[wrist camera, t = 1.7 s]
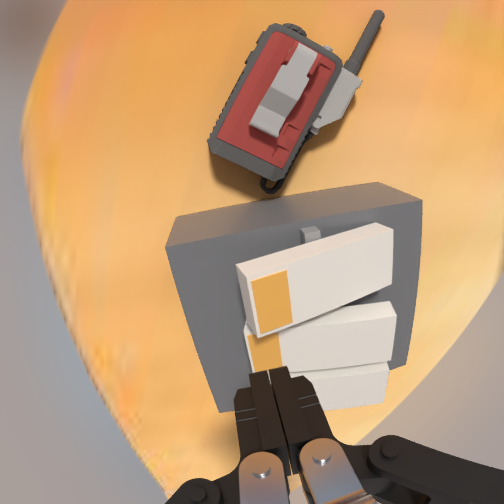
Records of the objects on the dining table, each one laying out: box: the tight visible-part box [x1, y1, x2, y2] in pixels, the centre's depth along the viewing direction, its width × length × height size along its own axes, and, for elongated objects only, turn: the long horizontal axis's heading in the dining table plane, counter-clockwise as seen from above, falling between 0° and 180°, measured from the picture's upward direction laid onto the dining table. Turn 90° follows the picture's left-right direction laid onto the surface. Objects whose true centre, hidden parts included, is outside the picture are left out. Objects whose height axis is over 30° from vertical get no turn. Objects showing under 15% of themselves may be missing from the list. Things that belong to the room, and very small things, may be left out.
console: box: [165, 182, 422, 413], centre depth 26 cm, size 18×16×8 cm
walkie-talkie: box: [207, 10, 385, 194], centre depth 21 cm, size 9×4×20 cm
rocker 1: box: [244, 301, 397, 374], centre depth 21 cm, size 10×4×2 cm, turn 99°
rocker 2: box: [268, 361, 389, 411], centre depth 23 cm, size 10×4×2 cm, turn 99°
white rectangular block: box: [236, 222, 393, 338], centre depth 19 cm, size 10×4×2 cm, turn 99°
